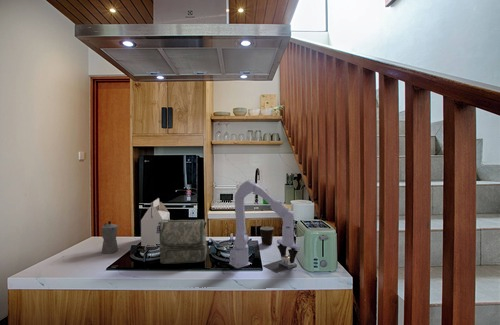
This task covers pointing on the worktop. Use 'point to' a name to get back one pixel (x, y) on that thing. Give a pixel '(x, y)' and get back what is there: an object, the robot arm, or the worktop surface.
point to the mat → (275, 266)
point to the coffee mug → (266, 235)
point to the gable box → (153, 223)
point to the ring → (286, 260)
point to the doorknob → (286, 265)
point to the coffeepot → (109, 238)
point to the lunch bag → (182, 241)
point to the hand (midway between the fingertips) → (287, 260)
